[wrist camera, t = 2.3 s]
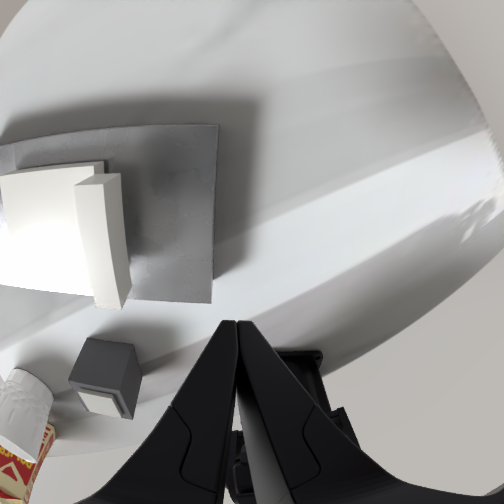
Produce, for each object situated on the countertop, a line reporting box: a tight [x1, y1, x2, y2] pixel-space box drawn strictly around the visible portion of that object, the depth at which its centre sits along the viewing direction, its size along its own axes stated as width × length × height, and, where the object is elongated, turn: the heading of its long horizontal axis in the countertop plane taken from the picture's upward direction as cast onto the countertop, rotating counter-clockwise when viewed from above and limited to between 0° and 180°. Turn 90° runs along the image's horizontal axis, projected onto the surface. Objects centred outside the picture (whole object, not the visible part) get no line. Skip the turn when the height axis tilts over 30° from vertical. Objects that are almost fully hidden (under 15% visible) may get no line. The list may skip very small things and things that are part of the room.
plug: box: [68, 338, 142, 420], centre depth 20 cm, size 4×4×5 cm
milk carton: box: [0, 423, 55, 504], centre depth 21 cm, size 9×9×20 cm
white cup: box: [0, 369, 54, 463], centre depth 20 cm, size 8×8×10 cm
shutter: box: [0, 161, 132, 310], centre depth 12 cm, size 8×7×3 cm
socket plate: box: [0, 124, 219, 304], centre depth 15 cm, size 17×10×2 cm, turn 85°
